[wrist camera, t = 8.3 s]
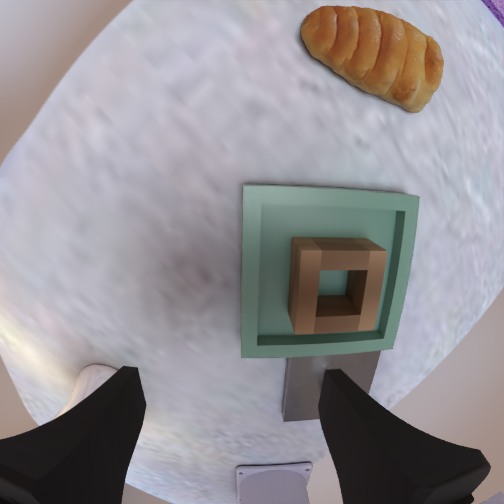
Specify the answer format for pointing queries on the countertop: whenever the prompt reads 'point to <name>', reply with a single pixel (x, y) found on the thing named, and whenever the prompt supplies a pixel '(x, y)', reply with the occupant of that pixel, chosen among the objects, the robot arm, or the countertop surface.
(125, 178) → the countertop surface
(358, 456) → the robot arm
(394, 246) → the tray
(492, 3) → the sponges
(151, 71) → the countertop surface
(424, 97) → the pastry
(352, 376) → the grey peg base
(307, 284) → the collar
